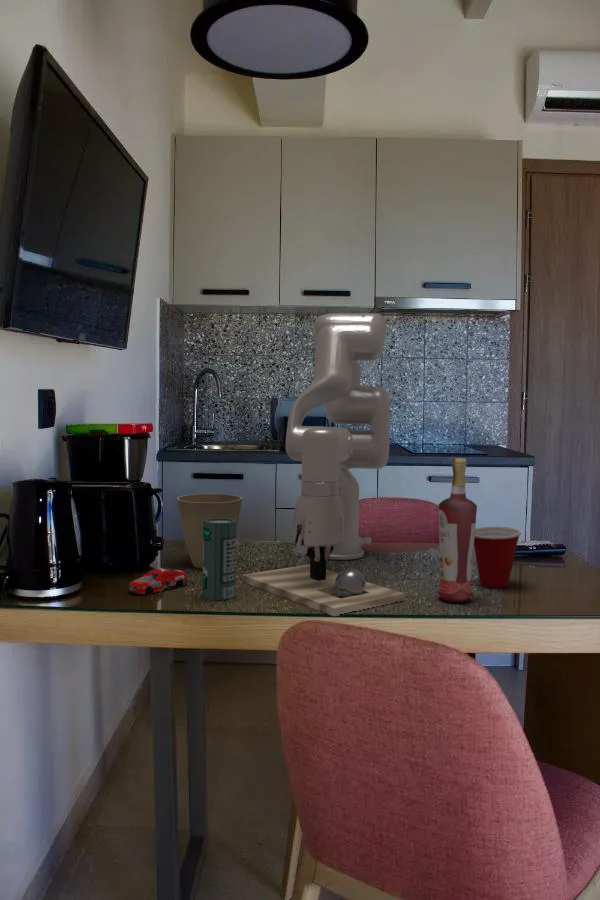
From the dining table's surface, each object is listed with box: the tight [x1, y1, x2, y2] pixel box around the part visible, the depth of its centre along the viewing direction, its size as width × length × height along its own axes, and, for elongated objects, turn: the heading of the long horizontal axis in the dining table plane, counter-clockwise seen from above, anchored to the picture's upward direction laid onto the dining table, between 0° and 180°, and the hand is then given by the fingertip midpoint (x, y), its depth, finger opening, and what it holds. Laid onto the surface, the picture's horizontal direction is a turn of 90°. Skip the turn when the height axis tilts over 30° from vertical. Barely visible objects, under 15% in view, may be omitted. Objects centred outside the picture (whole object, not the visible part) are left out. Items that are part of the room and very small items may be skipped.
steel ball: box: [335, 568, 367, 598], centre depth 142 cm, size 6×6×6 cm
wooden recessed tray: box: [241, 563, 405, 617], centre depth 147 cm, size 30×18×2 cm, turn 38°
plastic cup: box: [473, 525, 522, 589], centre depth 155 cm, size 11×11×12 cm
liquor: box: [436, 457, 478, 604], centre depth 142 cm, size 7×7×28 cm
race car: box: [128, 567, 189, 596], centre depth 147 cm, size 13×5×4 cm, turn 138°
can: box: [202, 518, 237, 601], centre depth 142 cm, size 6×6×15 cm
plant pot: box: [176, 493, 243, 570], centre depth 168 cm, size 15×15×16 cm
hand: (317, 578), depth 148 cm, fingers closed
